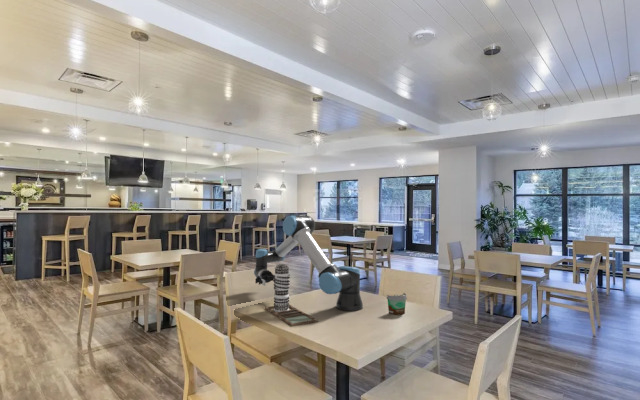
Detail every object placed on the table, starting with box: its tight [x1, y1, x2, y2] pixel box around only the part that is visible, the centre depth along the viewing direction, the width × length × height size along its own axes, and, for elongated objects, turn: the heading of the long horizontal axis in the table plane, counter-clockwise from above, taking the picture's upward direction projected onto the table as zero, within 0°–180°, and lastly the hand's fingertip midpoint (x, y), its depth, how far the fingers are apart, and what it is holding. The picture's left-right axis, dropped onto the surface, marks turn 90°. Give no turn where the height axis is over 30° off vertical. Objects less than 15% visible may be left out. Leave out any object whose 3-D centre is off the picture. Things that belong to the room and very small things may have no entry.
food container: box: [386, 292, 408, 316], centre depth 190 cm, size 12×6×10 cm, turn 117°
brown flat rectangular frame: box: [265, 304, 318, 327], centre depth 187 cm, size 34×14×1 cm, turn 30°
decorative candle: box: [273, 263, 291, 312], centre depth 196 cm, size 9×9×25 cm
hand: (276, 282), depth 205 cm, fingers open, 13 cm apart
